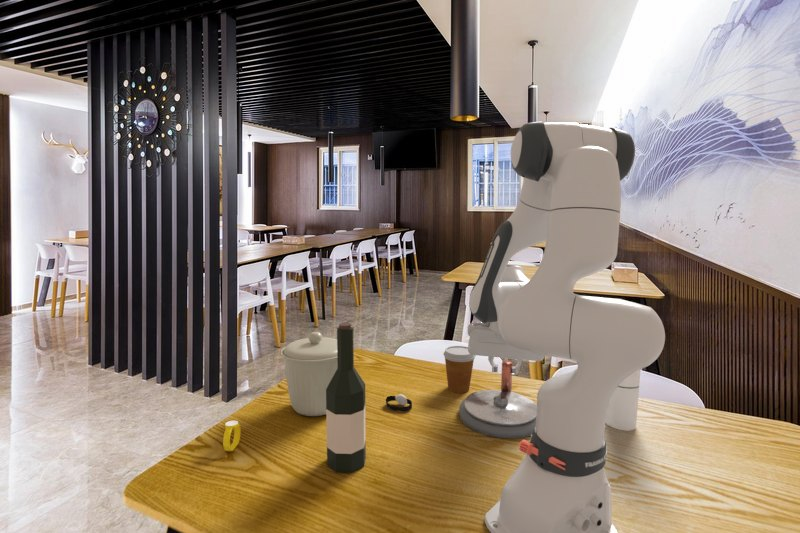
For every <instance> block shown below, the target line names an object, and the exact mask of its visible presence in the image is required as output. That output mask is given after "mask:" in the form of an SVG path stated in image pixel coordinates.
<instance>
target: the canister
mask: <svg viewBox="0 0 800 533" xmlns="http://www.w3.org/2000/svg"><path fill="white" fill-rule="evenodd" d="M280 355H281V357H282V358H283V365H284V370H285V372H284V373H285V377H286V379H285V380H286V384H287V390H288V396H289V401H290V402H289V403H290V404H291V407H292V409H293V410H294V411H295V412H296V413H297V414H299V415H302V416H305V417H319V416H324V415H325V416H326V389H327V387H328V385H329V383H330V381H331V379H332V377H333V376H334V374H335V372H336V370H337V369H338V363H337V338H334V337H327V336H325V337H324V336H323V335H322V333H321V332H319V331H313V332H311V333H310V334H309V335H308V337H305V338H301V339H297V340H294V341H292V342H290V343H288V344H287V345H285V346H283V348H282V349H281V350H280Z"/></svg>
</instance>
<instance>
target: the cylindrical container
mask: <svg viewBox="0 0 800 533" xmlns="http://www.w3.org/2000/svg"><path fill="white" fill-rule="evenodd" d="M641 370H642V369H640V370H638V371H636V372H634V373H633V374H631V375H630V376H628V377H627V378H626V379H625V380H623V381H622V382H621V383H620V384H619V386H618V387H617V388H616V390H615V391H614V393H613V395H612V397H611V399H610V402H609V405H608V410H607V416H606V423H605V425H607V426H608V427H610V428H612V429H616V430H619V431H634V430H636V428H637V418H638V408H639V407H638V404H639V393H640V380H641Z"/></svg>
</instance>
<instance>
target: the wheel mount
mask: <svg viewBox="0 0 800 533" xmlns="http://www.w3.org/2000/svg"><path fill="white" fill-rule="evenodd" d="M465 399H466V398H464V399H463V400H462V401H461V402H460V404H459V419H460V421H461V422H462V423H463V424H464V425H465V426H466V427H467V428H469V429H470V430H472V431H474V432H475V433H476V432H477V433H479V434H481V435H485V436H487V437H488V436H489V437H493V438H498V439H499V438H500V439H511V440H512V439H522V438H527V437H531V435H532V433H533V430H534V428H535V426H536V419H535V420H534V421H533V422H531V423H529V424H526V425H522V426H512V427H507V426H497V425H492V424H488V423H484V422H481V421H479V420H477V419H475V418H473V417H472V416H470V415H469V414H468V413H467V412H466V410H465Z"/></svg>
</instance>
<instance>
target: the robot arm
mask: <svg viewBox="0 0 800 533" xmlns="http://www.w3.org/2000/svg"><path fill="white" fill-rule="evenodd" d="M511 143H512V144H511V147H510V160H511V161H510V162H511V167H512V169H513V171H514V172H515V174H517V175H518V176H520V177H522V178H523V182H522V185H521V186H522V187H521V189H520V194H519V198H518V202H517V205H516V207H515V209H514V211H512V213H511V215H510V216H509V217H508V219H507V220H505V221H504V222H502V223H501V224H500V225H499V226H498V228H497V230H496V232H495V234H494V236H493V238H492V241H491V244H490V245H489V249H488V252H487V253H486V256H485V259H484V262H483V265H482V268H481V269H480V273H479V276H478V278H477V280H476V282H475V283H474V285H473V287H472V289H471V290H470V294H469V300H468V301H469V302H468V304H469V305H468V306H469V311H470V313H471V314H472V315H473V317H474V318H476V319H477V320H478V321H473V322H470V323H469V324H468V326H467V335H468V337H469V338H468V344H467V345H468V346H467V347H468V352H469V353H470V354H471V355H476V356H481V357H488V358H487V360H488V362H489V364H490V365H491V372H492V373H498V372H499V370H498V369H499V364H495V360H494V358H502V359H513V360H516V364H515V366H513V365H512V375H518V370H519V368H520V366H521V365H522V363H523V361H535V362H542V361H543V360H544V359H545V357H546V356H547V357H553V358H559V359H563V360H564V359H566V360H569V361H570V360H571V361H573V362H575V363H576V364H577V367H576V368H575V369H573V370H572V371H569V372H567V373H563V374H559V375H556V376H555V375H554V376H553V377H550V378H549V379H547V380H545V381H544V382H543V383H542V384H541V385H540V386H539V389H538V391H537V395H536V405H537V414H536V426H535V428H534V430H533V433H532V435H531V436H530V441H528V440H526V439H522V440H521V441H519V442H520V443H519V445H518V448H519V450H520V452H523V453H525V454H526V455H525V457H524V458H523V459H522V461H521V462H520V463H519V464H518V465H517V468H516V469H515V471H514V472H513V473H512V474H511V476H510V477H509V479H508V480H507V482H506V483H505V485H504V486H503V488H502V490H501V495H500V499H499V500H498V501H497V502H496V503H495V504H494V505H493V506H492V507H491V508H490V509H489V510H488V511H487V512H486V513H485V515H484V524H485V525H486V527H487V530H488V531H489V533H619V532H618V530H617V529H616V526H614V524H613V517H612V516H613V515H612V513H613V512H612V511H613V509H612V508H613V504H612V487H611V484H610V481H609V479H608V478H607V475H606V472H605V468H604V467H605V465H606V462H607V461H606V459H607V455H608V454H607V453H608V449H607V441H606V439H605V430H606V416H607V410H608V405H609V402H610V399H611V397H612V395H613V393H614V391H615V390H616V388H617V387H618V386H619V384H620V383H621V382H622V381H623V380H625V379H626V378H627V377H628V376H630V375H631V374H633V373H634V372H636V371H638V370H640V369H641V370H643V369H645V368H646V367H649V366H650V365H651V364H653V363H654V362H655V361H656V360H658V358H659V357H660V355H661V353H662V351H663V350H664V346H665V341H666V332H665V331H666V330H665V327H664V324H663V321H662V319H661V318H660V316H659V315H658V313H657V312H656V311H655V310H654V309H653V308H652V307H651V306H647V305H644V304H641V303H637V302H634V301H629V300H625V299H623V298H616V297H615V298H613V297H612V298H611V297H603V296H601V297H600V296H593V295H592V296H590V295H580V294H577V293H574V288H575V285H576V283H577V282H578V281H580V280H581V279H583V278H586V277H590V276H591V275H594V274H597V273H599V272H601V271H604V270H605V269H607V268H609V267H610V266H611V265H612V264H613V263H614V262H615V260H616V258H617V255H618V250H619V249H618V248H619V246H618V245H619V235H620V232H619V231H620V222H621V221H620V220H621V207H622V206H621V204H622V201H621V200H622V199H621V198H622V197H621V196H622V192H621V181H622V180H623V179H624V178H626V177H627V175H628V174H629V173H630V171H631V169H632V167H633V164H634V161H635V155H636V147H635V146H636V145H635V142H634V139H633V136H631V134H630V133H629V132H627V131H625V130H621V129H619V128H615V127H608V128H607V127H606V128H605V127H602V126H597V125H596V126H595V125H590V124H589V125H588V124H582V123H580V124H579V123H578V122H568V121H567V122H565V121H564V122H560V121H558V122H557V121H556V122H543V121H541V120H540V121H532V122H528V123H524V124H523V125H522V126H521V127H520V128H518V130H517V132H516V134H515V136H514V138H513V141H512V142H511ZM543 243H545V246H544V250H543V254H542V260H541V261H540V264H539V265H538V267H537V269H536V270H535V272H534V274H533V276H532V277H531V278H528V277H527V275H525V271H524V270H525V269H524V268H523V266H521V265H519V264H508V263H509V261H510V260H511V259H512V258H513V257H514V256H516V254H517V253H520V252H522V251H524V250H525V249H528V248H530V247H533V246H535V245H539V244H543ZM641 370H640V371H641Z"/></svg>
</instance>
